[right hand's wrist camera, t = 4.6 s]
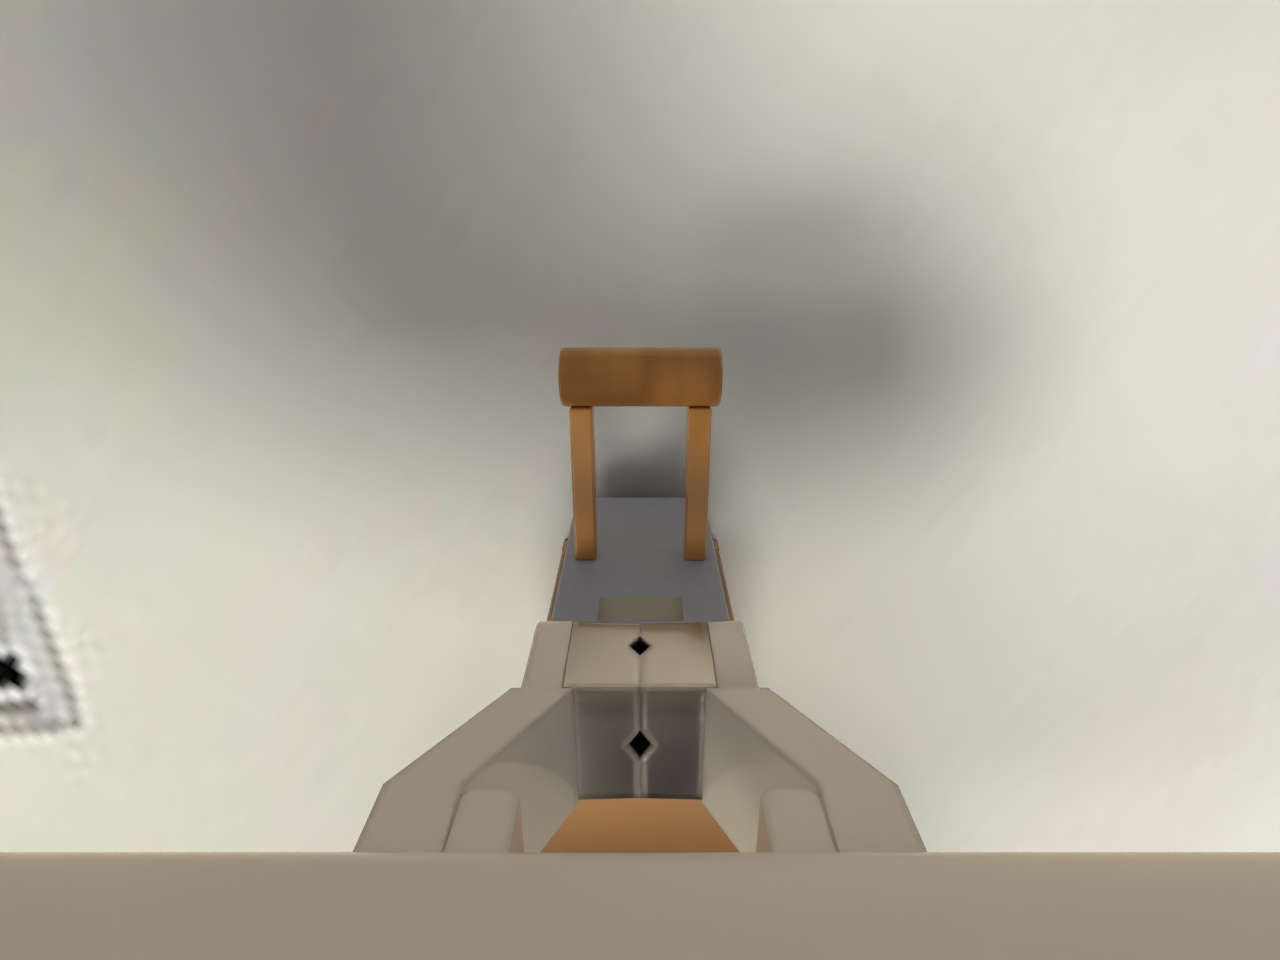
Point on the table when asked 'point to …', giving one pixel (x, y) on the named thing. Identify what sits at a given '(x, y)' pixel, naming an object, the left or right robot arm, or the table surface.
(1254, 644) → the table surface
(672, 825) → the cabinet
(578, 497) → the drawer
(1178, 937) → the right robot arm
